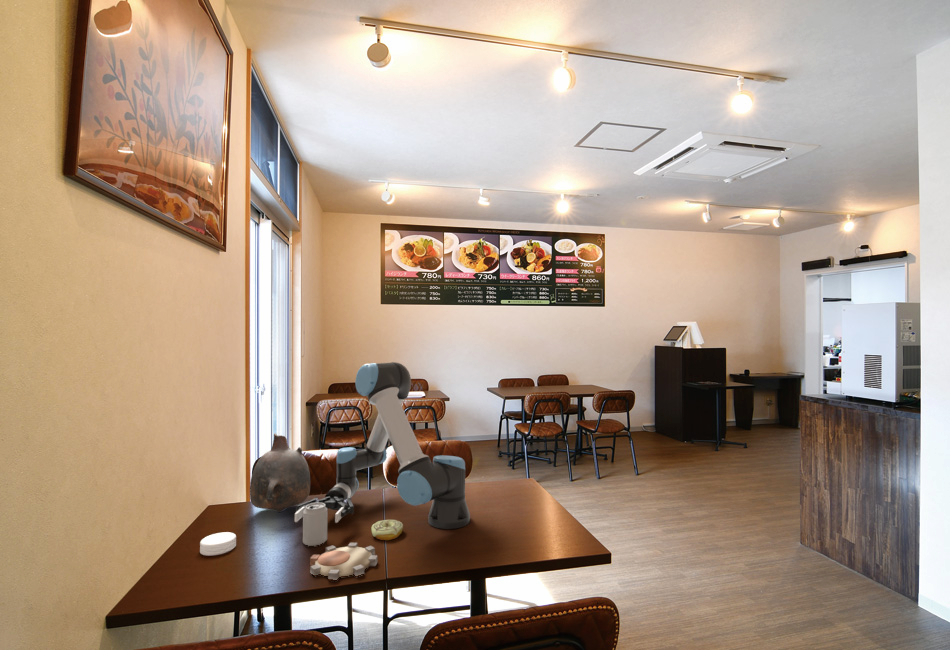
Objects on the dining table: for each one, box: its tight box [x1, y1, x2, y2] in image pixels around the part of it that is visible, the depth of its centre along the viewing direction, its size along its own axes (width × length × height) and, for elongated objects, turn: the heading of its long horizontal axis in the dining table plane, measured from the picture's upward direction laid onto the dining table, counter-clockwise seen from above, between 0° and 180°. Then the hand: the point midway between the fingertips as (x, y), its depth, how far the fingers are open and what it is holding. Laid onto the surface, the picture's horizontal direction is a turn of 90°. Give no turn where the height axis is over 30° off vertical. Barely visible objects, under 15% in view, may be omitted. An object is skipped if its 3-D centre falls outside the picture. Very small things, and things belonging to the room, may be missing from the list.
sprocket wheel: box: [309, 542, 378, 581], centre depth 133 cm, size 19×19×2 cm
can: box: [302, 503, 328, 547], centre depth 148 cm, size 8×8×12 cm
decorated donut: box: [370, 519, 404, 541], centre depth 154 cm, size 10×11×4 cm
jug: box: [249, 432, 311, 513], centre depth 176 cm, size 24×21×30 cm
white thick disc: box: [199, 531, 237, 557], centre depth 144 cm, size 10×10×4 cm
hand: (315, 518), depth 150 cm, fingers open, 13 cm apart
